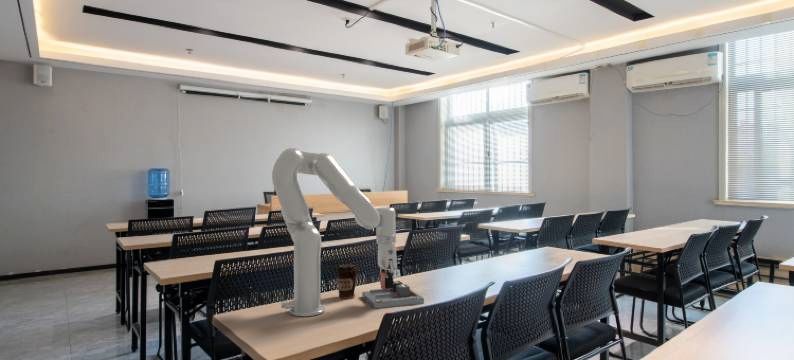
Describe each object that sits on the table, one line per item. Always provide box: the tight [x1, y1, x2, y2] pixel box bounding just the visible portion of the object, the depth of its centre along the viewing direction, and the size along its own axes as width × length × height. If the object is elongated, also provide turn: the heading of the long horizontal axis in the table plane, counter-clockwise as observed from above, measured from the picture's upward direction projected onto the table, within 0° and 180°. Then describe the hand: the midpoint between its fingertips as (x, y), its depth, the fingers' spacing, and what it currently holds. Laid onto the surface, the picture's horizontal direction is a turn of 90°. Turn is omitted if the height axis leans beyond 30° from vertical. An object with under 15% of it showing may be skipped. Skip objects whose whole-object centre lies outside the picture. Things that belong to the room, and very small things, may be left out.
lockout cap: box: [379, 271, 392, 289], centre depth 173 cm, size 5×5×6 cm
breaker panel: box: [361, 280, 425, 310], centre depth 178 cm, size 20×17×6 cm
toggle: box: [396, 283, 411, 298], centre depth 175 cm, size 4×4×4 cm
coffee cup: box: [336, 264, 358, 300], centre depth 182 cm, size 9×8×13 cm
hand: (386, 286), depth 173 cm, fingers closed on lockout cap, 4 cm apart
